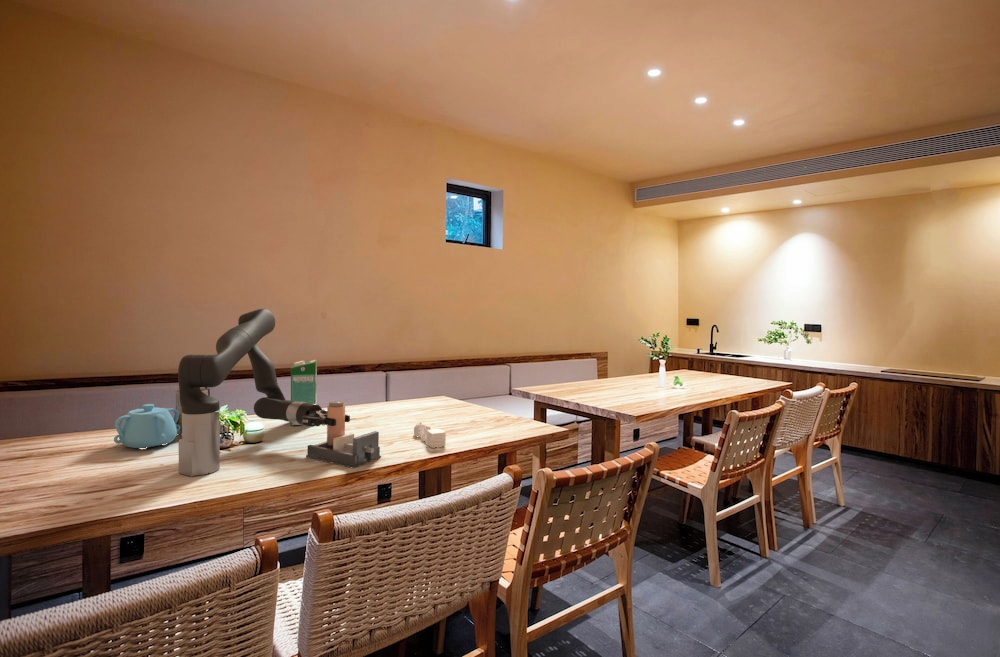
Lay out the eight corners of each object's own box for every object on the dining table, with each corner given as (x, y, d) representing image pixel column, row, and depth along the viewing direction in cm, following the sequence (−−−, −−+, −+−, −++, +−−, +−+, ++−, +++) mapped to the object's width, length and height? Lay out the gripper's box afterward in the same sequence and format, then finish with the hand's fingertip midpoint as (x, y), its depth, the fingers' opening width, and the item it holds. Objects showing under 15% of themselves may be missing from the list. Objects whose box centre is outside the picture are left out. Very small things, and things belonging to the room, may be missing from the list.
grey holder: (353, 468, 148) (354, 439, 148) (305, 457, 158) (306, 430, 157) (380, 457, 159) (381, 431, 159) (334, 447, 168) (334, 422, 168)
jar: (335, 446, 156) (336, 405, 155) (323, 443, 159) (323, 403, 158) (348, 442, 161) (348, 402, 160) (335, 439, 163) (336, 400, 163)
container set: (445, 447, 172) (446, 431, 172) (431, 449, 170) (431, 433, 170) (424, 433, 190) (424, 419, 189) (411, 435, 187) (411, 420, 187)
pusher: (363, 464, 150) (364, 444, 149) (333, 457, 155) (333, 438, 155) (380, 457, 156) (380, 438, 156) (350, 451, 162) (350, 433, 162)
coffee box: (211, 431, 184) (211, 388, 183) (199, 436, 177) (198, 391, 176) (188, 430, 185) (187, 387, 184) (175, 435, 178) (174, 390, 177)
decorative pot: (187, 438, 175) (186, 399, 174) (162, 452, 159) (161, 409, 158) (136, 439, 173) (136, 400, 172) (106, 452, 157) (105, 409, 156)
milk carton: (292, 420, 203) (293, 359, 202) (316, 419, 206) (316, 359, 205) (290, 426, 195) (290, 362, 193) (315, 424, 197) (315, 361, 196)
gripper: (286, 406, 159) (325, 413, 152) (321, 398, 172) (358, 405, 164) (286, 429, 160) (324, 437, 152) (320, 420, 172) (358, 427, 165)
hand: (342, 420), depth 158 cm, fingers closed on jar, 5 cm apart
